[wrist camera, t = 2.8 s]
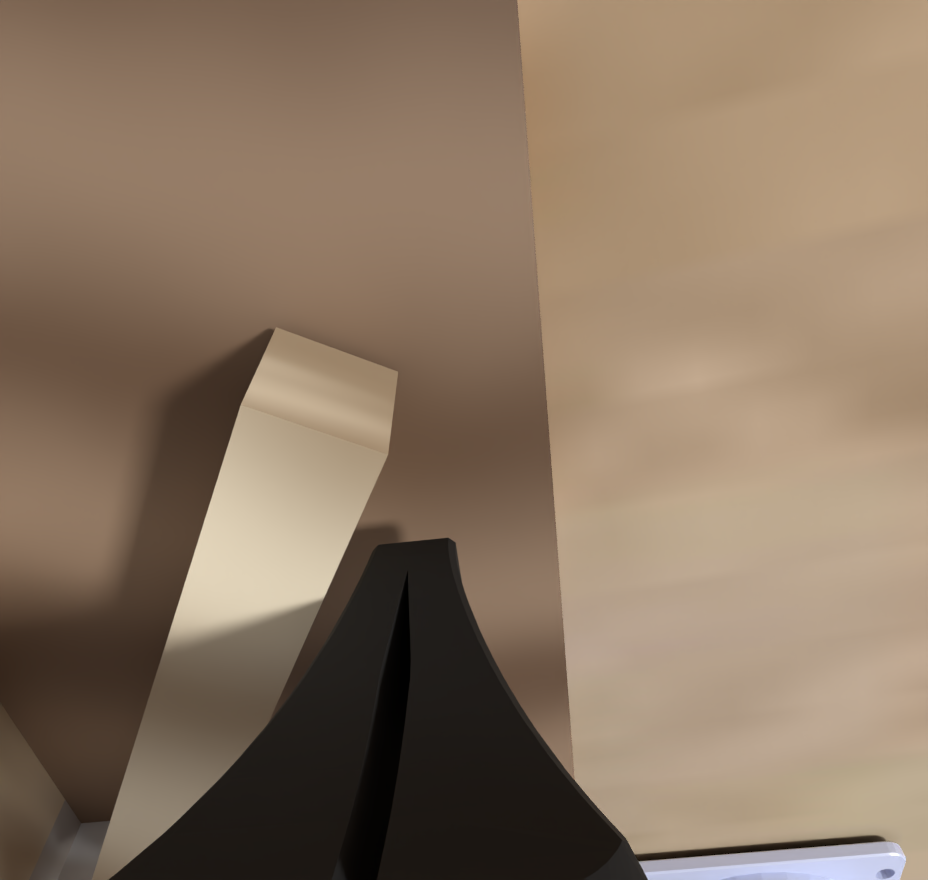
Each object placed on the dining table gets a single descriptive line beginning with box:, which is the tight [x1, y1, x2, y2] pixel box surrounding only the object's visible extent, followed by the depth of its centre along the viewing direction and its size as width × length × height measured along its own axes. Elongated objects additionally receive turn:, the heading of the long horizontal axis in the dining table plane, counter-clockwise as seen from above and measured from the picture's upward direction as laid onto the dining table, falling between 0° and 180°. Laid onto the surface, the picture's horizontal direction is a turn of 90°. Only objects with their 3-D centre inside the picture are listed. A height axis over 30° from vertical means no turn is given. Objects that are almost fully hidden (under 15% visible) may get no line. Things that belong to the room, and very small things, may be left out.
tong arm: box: [92, 327, 398, 880], centre depth 14 cm, size 13×2×2 cm, turn 157°
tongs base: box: [0, 0, 574, 880], centre depth 16 cm, size 26×18×4 cm
